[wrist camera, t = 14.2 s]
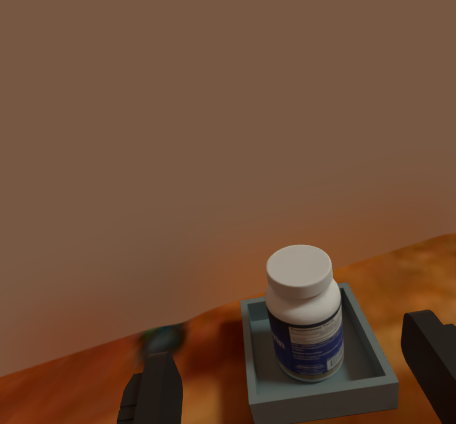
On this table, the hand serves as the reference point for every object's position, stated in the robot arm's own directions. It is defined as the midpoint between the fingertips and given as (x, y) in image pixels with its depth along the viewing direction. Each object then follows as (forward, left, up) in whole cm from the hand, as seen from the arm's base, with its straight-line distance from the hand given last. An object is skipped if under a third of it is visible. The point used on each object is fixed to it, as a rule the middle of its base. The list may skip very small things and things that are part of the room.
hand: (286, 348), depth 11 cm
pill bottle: (+2, +12, -16) cm, 20 cm away
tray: (+2, +12, -16) cm, 20 cm away
